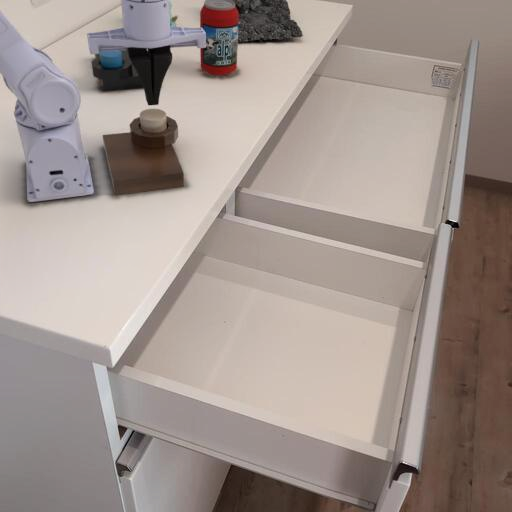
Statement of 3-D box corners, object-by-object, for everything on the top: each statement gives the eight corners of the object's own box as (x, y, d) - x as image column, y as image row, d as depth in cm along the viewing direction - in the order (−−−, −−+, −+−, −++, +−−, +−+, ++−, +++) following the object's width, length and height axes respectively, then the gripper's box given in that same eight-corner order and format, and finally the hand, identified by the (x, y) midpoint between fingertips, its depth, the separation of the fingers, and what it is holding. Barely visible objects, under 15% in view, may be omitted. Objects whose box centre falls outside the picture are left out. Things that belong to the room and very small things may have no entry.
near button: (169, 132, 76) (168, 119, 74) (143, 135, 75) (141, 121, 73) (164, 120, 78) (163, 107, 77) (138, 123, 77) (137, 109, 76)
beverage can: (206, 79, 98) (207, 10, 90) (195, 65, 103) (195, -3, 95) (241, 76, 100) (245, 7, 93) (229, 62, 105) (231, -5, 97)
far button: (124, 68, 91) (122, 56, 90) (102, 69, 90) (100, 57, 89) (121, 60, 94) (120, 48, 92) (99, 61, 93) (98, 49, 91)
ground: (250, 43, 109) (250, 64, 112) (342, 14, 116) (339, 35, 120) (192, -4, 122) (194, 16, 126) (277, -27, 130) (277, -7, 134)
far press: (157, 90, 94) (156, 67, 91) (96, 94, 91) (93, 71, 88) (143, 56, 105) (141, 35, 102) (88, 59, 102) (85, 37, 99)
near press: (193, 185, 73) (192, 159, 70) (115, 195, 70) (111, 168, 67) (173, 137, 82) (172, 112, 79) (103, 144, 79) (99, 119, 77)
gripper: (196, -16, 70) (197, 85, 79) (79, -13, 66) (94, 93, 75) (210, 1, 65) (209, 107, 74) (84, 5, 61) (99, 117, 70)
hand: (152, 101), depth 74 cm, fingers closed
